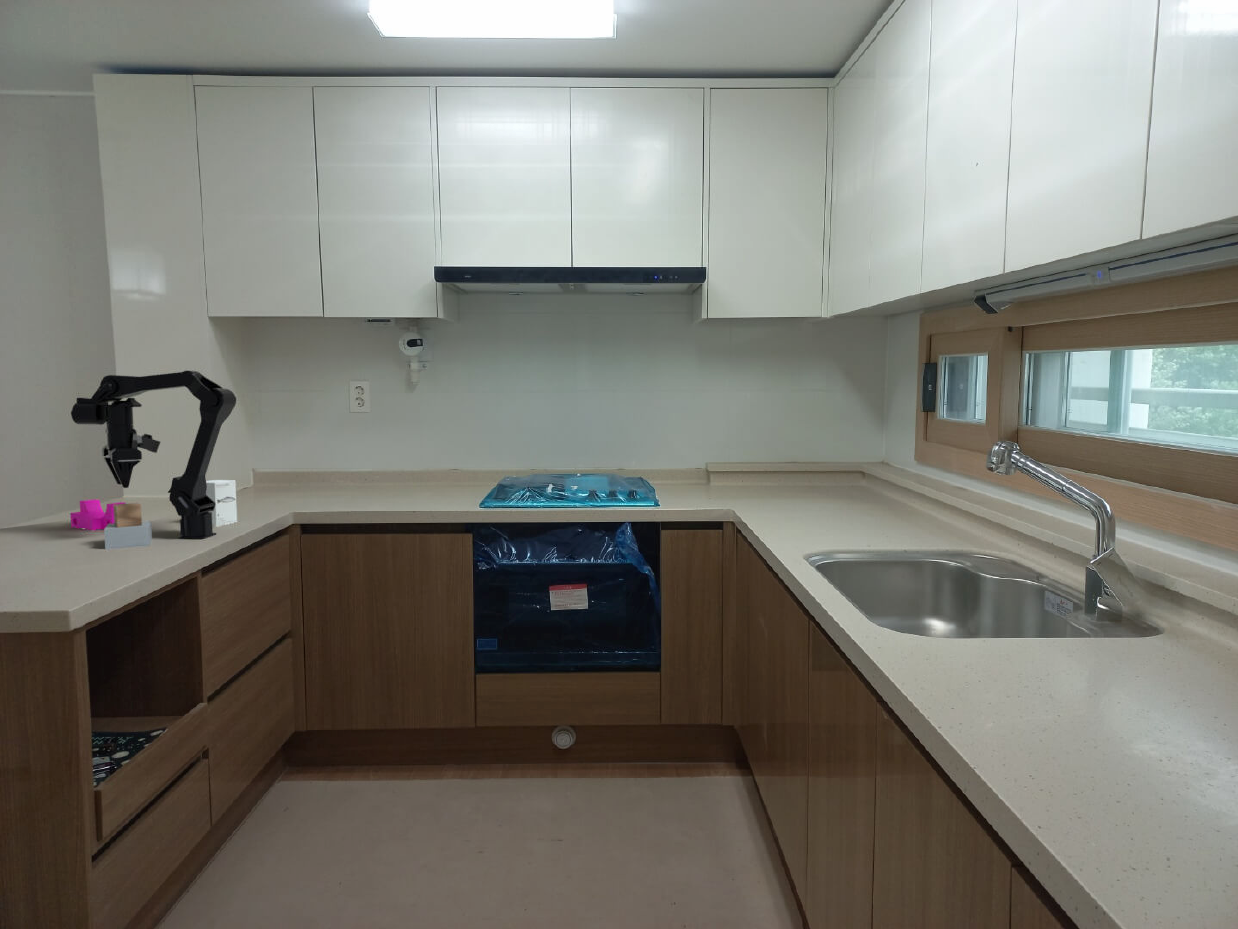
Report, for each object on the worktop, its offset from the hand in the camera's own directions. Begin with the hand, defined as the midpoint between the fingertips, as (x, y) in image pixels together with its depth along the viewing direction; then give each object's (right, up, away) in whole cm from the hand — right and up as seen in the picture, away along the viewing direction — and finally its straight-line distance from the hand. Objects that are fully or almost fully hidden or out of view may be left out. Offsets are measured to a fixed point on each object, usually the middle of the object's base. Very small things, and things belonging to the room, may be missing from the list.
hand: (122, 486), depth 193 cm
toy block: (-15, -13, +14) cm, 24 cm away
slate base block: (+7, -14, -8) cm, 18 cm away
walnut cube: (+7, -9, -8) cm, 14 cm away
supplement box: (+14, -12, +19) cm, 26 cm away
